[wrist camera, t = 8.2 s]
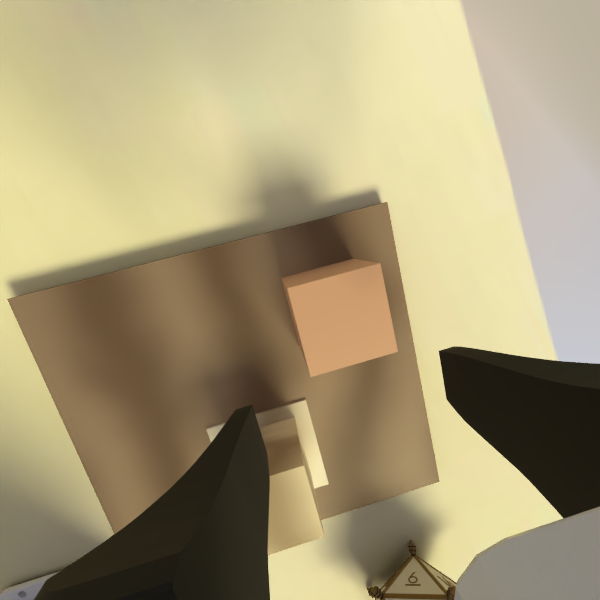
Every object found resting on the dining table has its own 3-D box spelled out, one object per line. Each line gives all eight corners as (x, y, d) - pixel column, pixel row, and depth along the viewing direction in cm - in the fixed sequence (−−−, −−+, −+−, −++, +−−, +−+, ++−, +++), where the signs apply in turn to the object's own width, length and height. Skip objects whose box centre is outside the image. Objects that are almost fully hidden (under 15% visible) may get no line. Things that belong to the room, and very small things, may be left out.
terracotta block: (299, 347, 19) (310, 377, 15) (281, 278, 19) (287, 288, 14) (367, 327, 20) (398, 351, 15) (352, 258, 19) (380, 263, 14)
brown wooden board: (140, 568, 22) (134, 583, 21) (18, 296, 18) (5, 299, 17) (433, 473, 23) (440, 483, 22) (382, 203, 19) (388, 201, 18)
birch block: (246, 495, 21) (242, 563, 16) (226, 437, 20) (216, 492, 15) (311, 475, 21) (324, 536, 17) (294, 416, 20) (303, 465, 16)
